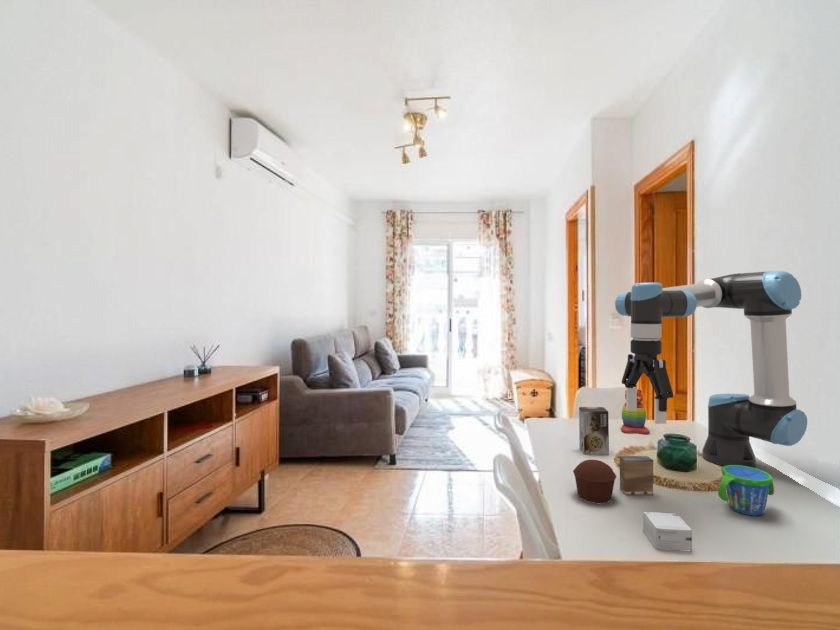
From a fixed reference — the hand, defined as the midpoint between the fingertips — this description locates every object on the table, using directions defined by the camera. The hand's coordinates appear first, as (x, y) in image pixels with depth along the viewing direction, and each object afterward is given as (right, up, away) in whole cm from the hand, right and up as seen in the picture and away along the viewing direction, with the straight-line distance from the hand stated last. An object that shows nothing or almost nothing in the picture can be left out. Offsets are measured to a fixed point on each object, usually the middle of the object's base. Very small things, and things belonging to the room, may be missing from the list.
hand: (645, 416), depth 117 cm
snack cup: (+25, -24, -4) cm, 35 cm away
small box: (-5, -25, -18) cm, 31 cm away
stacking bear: (+31, -22, +67) cm, 77 cm away
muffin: (-12, -24, +5) cm, 27 cm away
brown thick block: (+1, -24, +8) cm, 25 cm away
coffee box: (+3, -23, +42) cm, 48 cm away
